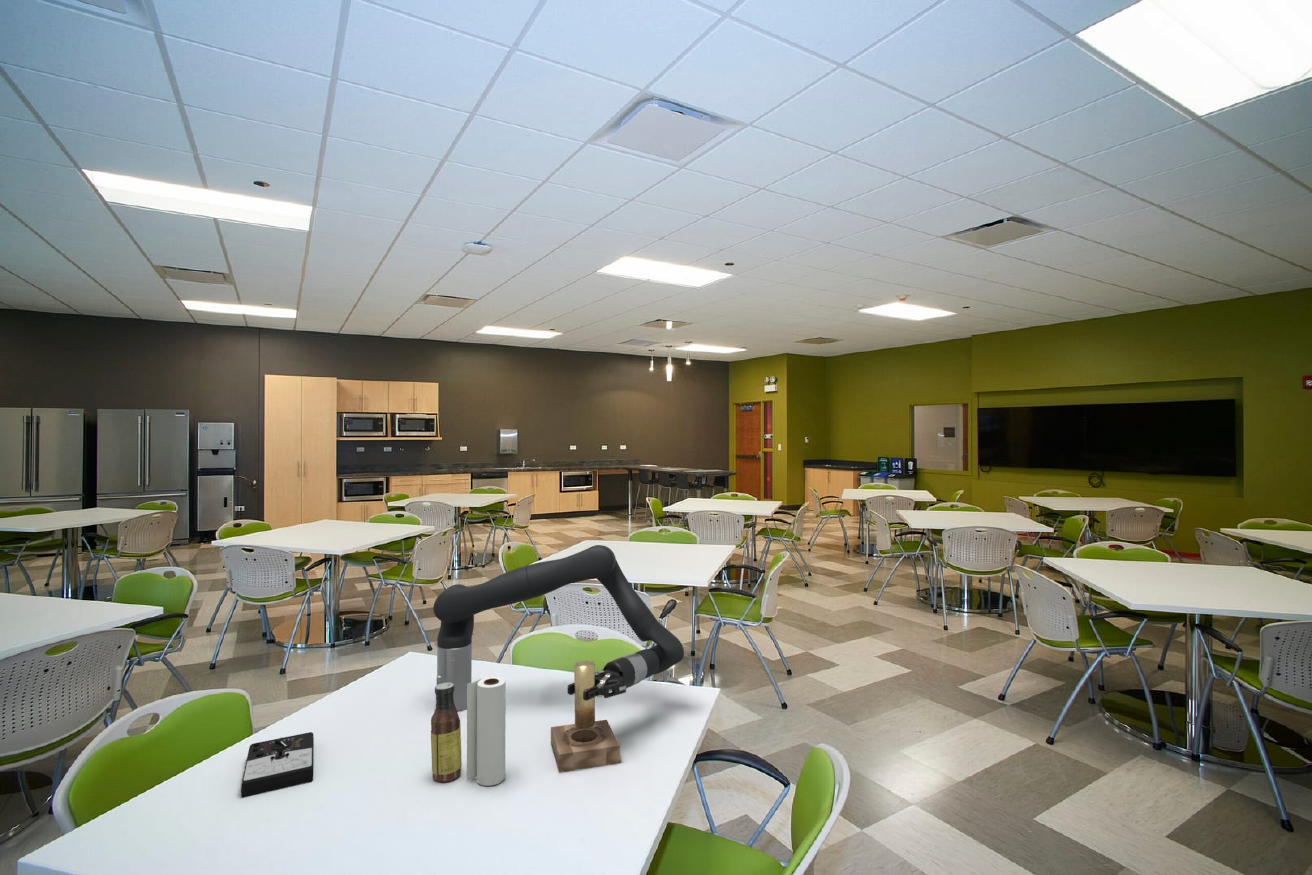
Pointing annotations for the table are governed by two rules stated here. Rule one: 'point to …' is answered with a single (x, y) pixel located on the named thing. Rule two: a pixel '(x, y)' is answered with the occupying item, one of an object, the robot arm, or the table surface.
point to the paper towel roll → (486, 730)
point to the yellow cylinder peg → (582, 681)
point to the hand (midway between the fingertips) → (576, 693)
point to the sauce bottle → (445, 735)
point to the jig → (584, 746)
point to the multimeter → (278, 764)
